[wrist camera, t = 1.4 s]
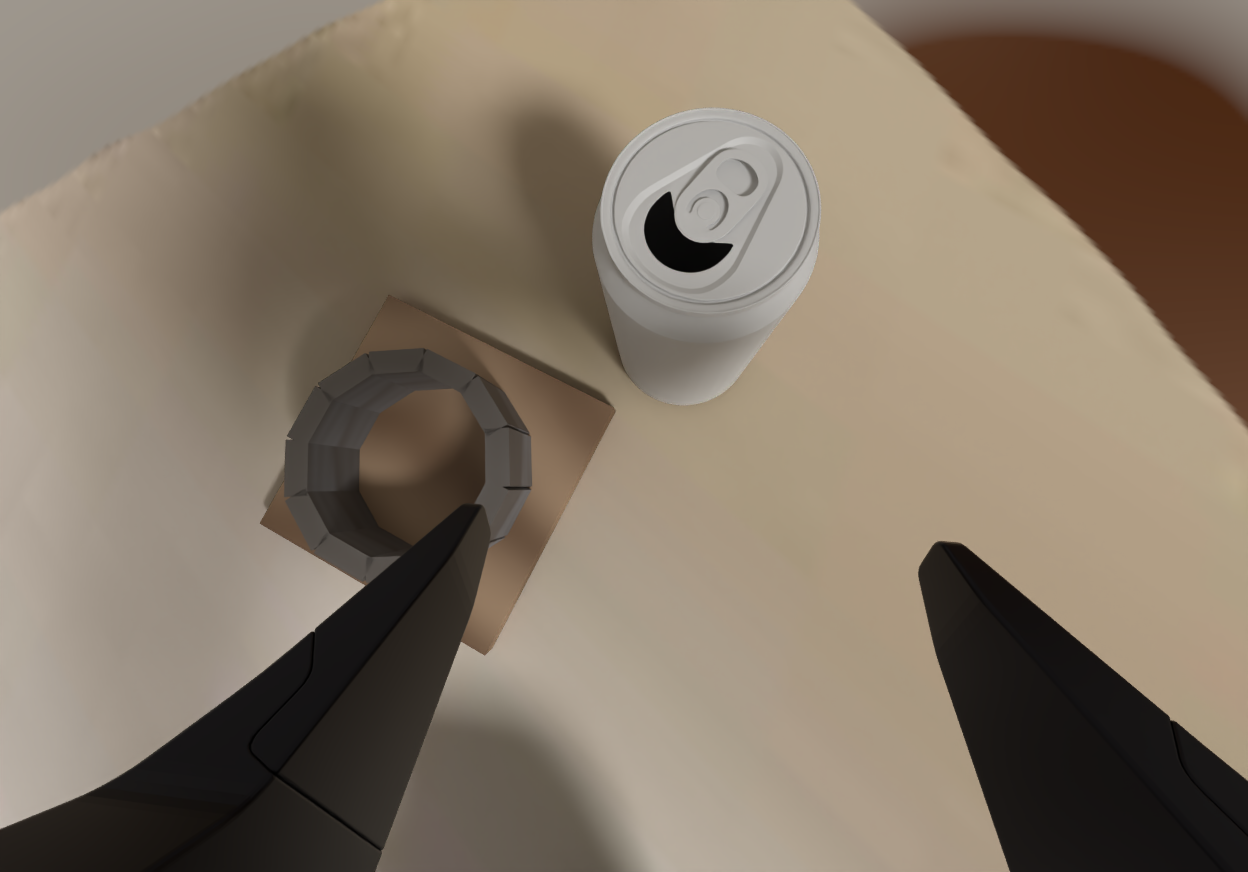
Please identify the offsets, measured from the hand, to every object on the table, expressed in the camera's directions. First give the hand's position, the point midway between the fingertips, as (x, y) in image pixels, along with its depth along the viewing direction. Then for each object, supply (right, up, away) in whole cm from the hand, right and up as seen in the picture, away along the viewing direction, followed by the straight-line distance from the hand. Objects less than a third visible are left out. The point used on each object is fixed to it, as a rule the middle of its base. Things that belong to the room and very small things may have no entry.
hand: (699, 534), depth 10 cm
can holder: (-11, 0, +14) cm, 18 cm away
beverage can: (+1, +7, +15) cm, 16 cm away
